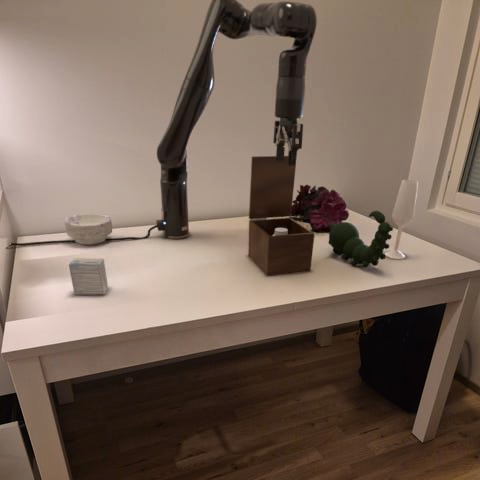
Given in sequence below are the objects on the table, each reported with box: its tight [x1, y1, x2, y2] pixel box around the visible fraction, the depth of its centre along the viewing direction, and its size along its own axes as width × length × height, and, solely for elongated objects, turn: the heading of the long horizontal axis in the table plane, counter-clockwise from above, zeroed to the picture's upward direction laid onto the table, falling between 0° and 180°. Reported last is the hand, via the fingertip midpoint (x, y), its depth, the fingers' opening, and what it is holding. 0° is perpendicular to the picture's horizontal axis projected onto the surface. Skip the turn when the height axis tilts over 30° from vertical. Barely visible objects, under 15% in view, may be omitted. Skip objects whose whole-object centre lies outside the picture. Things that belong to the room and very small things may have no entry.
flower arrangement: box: [288, 184, 350, 233], centre depth 170 cm, size 31×20×15 cm, turn 22°
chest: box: [247, 217, 315, 277], centre depth 129 cm, size 18×14×12 cm
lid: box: [248, 155, 298, 220], centre depth 131 cm, size 18×14×6 cm
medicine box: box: [68, 257, 109, 296], centre depth 109 cm, size 8×4×9 cm, turn 92°
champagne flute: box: [384, 179, 419, 260], centre depth 135 cm, size 7×7×24 cm
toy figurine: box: [327, 210, 394, 268], centre depth 131 cm, size 9×19×25 cm
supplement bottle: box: [272, 228, 288, 236], centre depth 129 cm, size 6×6×10 cm
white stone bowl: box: [64, 213, 113, 246], centre depth 146 cm, size 15×15×8 cm
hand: (285, 163), depth 117 cm, fingers open, 8 cm apart
